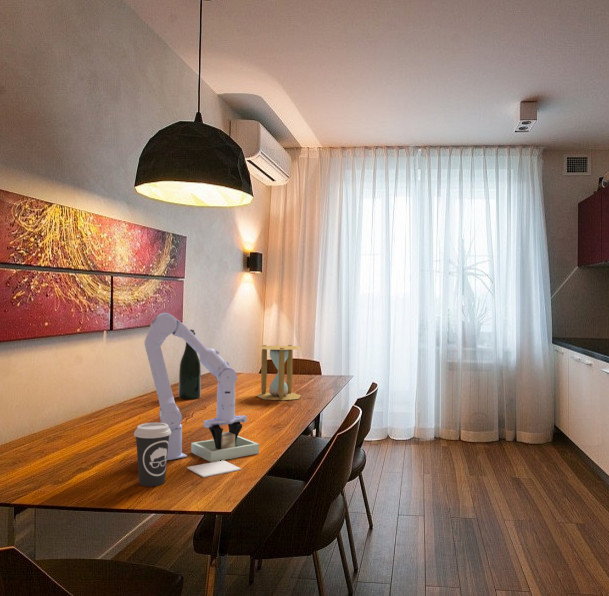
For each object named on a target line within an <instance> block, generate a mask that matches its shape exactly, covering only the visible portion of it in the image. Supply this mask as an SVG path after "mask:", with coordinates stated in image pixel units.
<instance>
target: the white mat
mask: <svg viewBox="0 0 609 596" xmlns="http://www.w3.org/2000/svg"><path fill="white" fill-rule="evenodd" d="M186 469H187V470H189V471H191V472H193V473H194V474H196V475H199V476H200V477H201V478H207V477H213V476H214V477H215V476H218V475H222V474H228V473H233V472H238V471H242V468H241V467H239V466H237V465H235V464H232V463H231V462H228V461H226V460H221V461H215V462H206V463H202V464H197V465H191V466H187V467H186Z"/></svg>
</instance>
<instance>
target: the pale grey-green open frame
mask: <svg viewBox="0 0 609 596" xmlns="http://www.w3.org/2000/svg"><path fill="white" fill-rule="evenodd" d="M190 443H191V447H190V448H191V450H190V453H191V454H194V455H195V456H198V457H199V458H201V459H204V460H206V461H208V463H211V462H217V461H220V460H221V461H222V460H224V461H226V460H230V459H231V460H232V459H236V458H237V459H238V458H241V457H246V456H252V455H253V456H254V455H259V454H260V443H257V442H255V441H252V440H250V439H247V438H245V437H242V436H240V435H238V436H237V439H236V443H235V447H233V448H227V449H221V450H215V442H214V439H213V438H212V439H208V440H207V439H206V440H201V441H195V442H190Z"/></svg>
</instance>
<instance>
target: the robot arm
mask: <svg viewBox="0 0 609 596" xmlns="http://www.w3.org/2000/svg"><path fill="white" fill-rule="evenodd" d="M190 330H191V329H190V328H189V327H188V326H187V325H185V324H184V323H183V322H182V321H180V320H178V319H177V317H175V316H174V315H173V314H171V313H169V312H160V313H159V314H158V315H156V317H155V318H154V319H153V320H152V322H151V323H150V326H149V329H148V331H147V334H146V337H145V339H144V349H145V352H146V356H147V360H148V363H149V367H150V371H151V375H152V379H153V382H154V383H153V384H154V388H155V391H156V394H157V398H158V403H159V411H158V415H159V419H160V423H165V424H168V426H169V428H170V430H171V434H170V435H169V444H168V453H167V461H172V460H176V459H182V458H187V457H188V455H187V454H185V453H183V452H182V451H183V424H182V420H183V416H182V413H181V411H180V408H179V406H178V405H177V404H176V402H175V398H174V394H173V390H172V387H171V383H170V378H169V374H168V370H167V367H166V362H165V359H164V355H163V351H162V347H161V346H162V345H163V343H164V342H165V341H166V339H167V338H168V337H169V336H170V335H173V336H174V337H178V338H180V339H182V340H184V342H185V343H186V342H187V343H188V344H189V345H190V346H191V347H192V348H193V349H194V350H195V351H196V352H197V355H198V358H199V361H200V364H202V366H203V367H204V368H205V369H207V371H208V372H209V373H210V374H211V375H212V376H215V379H216V381H217V390H216V417H214V418H210V419H207V420H203V428H206V429H207V428H208V429H209V431H210V433H211V436H212V440H213V439H214V442H215V447H216V449H221V436H222V432H224V428H222V427H221V426H225V425H227V426H228V432H230V433H233V434H235V443H236V439H237V436H239V434H240V432H241V430H242V428H243V423H247V421H248V416H247V415H236V389H235V388H236V382H237V381H238V376H237V372H236V370H235V369H233V367H231V366H230V363H229V362H228V361H225V359H223V357H221V355H220V352H219V350H218V349H214V348H213V347H211V348H208V347H206V346H205V345H204V344H203V342H201V340H200V339H199V338H198V337H197V336H196V334H195V335H194V334H193V333H192V332H191V331H190Z"/></svg>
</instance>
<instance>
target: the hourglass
mask: <svg viewBox="0 0 609 596" xmlns="http://www.w3.org/2000/svg"><path fill="white" fill-rule="evenodd" d="M256 348H257V349H261V368H260V369H261V371H260V372H261V373H260V376H261V377H260V380H261V382H260V383H261V384H260V385H261V386H260V388H261V390H260V391H261V392H260V393H258V395H256V397H258V398H260V399H262V400H265V401H266V400H269V401H271V400H273V401H287V400H291V401H292V400H299V399H300V398H301V397H302V395H301V394H298V393H296V392H292V388H293V350H301V349H302V348H303V347H301V346H297V345H292V344H288V345H279V344H277V345H267V344H263V345H260V346H257V347H256ZM268 350H269V358H270V359H271V361H272V363H273V365H274V366H275V368H276V369H277V373H276V375H274V376H275V377H274V378H273V380H272V381H271V383H270V385H269V388H268V389H269V391H268V392H267V382H268V381H267V379H268V377H267V376H268ZM285 363H286V380H285Z"/></svg>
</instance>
